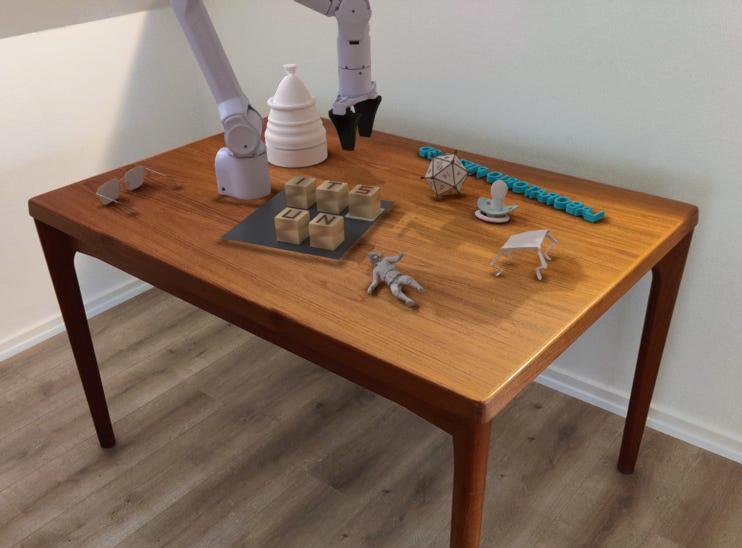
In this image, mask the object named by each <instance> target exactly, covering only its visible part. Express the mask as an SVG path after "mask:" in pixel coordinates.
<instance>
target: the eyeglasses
mask: <svg viewBox="0 0 742 548" xmlns="http://www.w3.org/2000/svg"><path fill="white" fill-rule="evenodd" d="M145 170H148V171H150V172H153V173H156V174H159V175H161V176H164V177H166V178H168V179H170V180H171V181H172V183H174V185H175V187H176V189H178V188H179V187H178V185H177V184H176V182H175V180H174V179H173V178H172V177H170V176H168V175H165V174H163V173H160V172H157V171H155V170H153V169H150V168H148V167H145V166H144V165H138V166H135V167H134V168H131V169H129V170H128V171H126V173H125V174H124V177H122V178H121V179H118V178H113V179H110V180H108V181H106V182H104V183H103V184H102V185H100V186H99V187H98V188H97V191H96V192H95V194H96V195H97V196H98V197H99V200H100V203H101V204H102V205H109V204H110V203H112V202H115V203H117V204H120V205H123V206H125V207H126V208H127V209H128V210H129V212H130V213H131V214H132V215H134V213H133V211H132V210H131V209H130V208H129V206H127V205H126V204H124V203H122V202H118V201H117V200H116V199H117V198H118V197H119V195H120V192H122V187H123V186H122V184H121V183H120V182H121V181H122V180H124V183H125V186H126V188H127V189H128V190H129V191H132V190H135V189H137V188H139V187H141V185H143V183H144V180H145Z"/></svg>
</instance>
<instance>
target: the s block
mask: <svg viewBox="0 0 742 548" xmlns="http://www.w3.org/2000/svg"><path fill="white" fill-rule="evenodd" d="M348 195H349V215H350V216H356V217H362V218H368V219H372V218H373V217H374V216H375V215H376V214H377V213H378V212H379V211H380V200H381V187H380V186H374V185H368V184H367V185H366V184H359V183H358V184H357V185H356V186H354V187H353V188H352V189H351V190H350V191H348Z"/></svg>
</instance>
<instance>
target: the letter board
mask: <svg viewBox="0 0 742 548" xmlns="http://www.w3.org/2000/svg"><path fill="white" fill-rule="evenodd" d="M348 193H349V184H348V182H341V181H335V180H328V179H326V180H324V181H323V182H322V183H321V184H320V185H317V178H315V177H308V176H301V175H295V176H293V177H292V178H290V179H289V180H288V181H287V182H285V183H284V188H283V189H281V190H280V191H279V192H278V193H276V194H275V195H274V196H272V197H271V198H269V200H268V201H266V202H265V203H263V204H262V205H261V206H259V207H258V208H257V209H256V210H254V211H252V213H250V214H248V216H246V217H245V218H244V219H242V220H241V221H240V222H239V223H237V224H236V225H235V226H233V227H232V228H230V229H229V230H228V231H227V232H225V233H224V234H222V236H220V237H219V238H220V239H222V240H228V241H232V242H233V241H234V242H239V243H245V244H250V245H255V246H261V247H266V248H270V249H277V250H283V251H288V252H293V253H297V254H298V253H299V254H304V255H310V256H316V257H320V258H325V259H331V260H336V261H339V260H340V259H341V258H342V257H343V256H344V255H345V254H346V253H347V252H348V251H349V250H350V249H351V248H352V247H353V246H354V245H355V244H356V243H357V242H358V241H359V240H360V239H361V237H362V236H363V235H364V234H365V233H367V231H368V230H369V229H370V228H371V227H372V226H373V225H374V224H375V223H376V222H377V221H378V220H379V219H380V218H381V217H382V216H383V215H384V213H386V211H388V209H390V208H391V206H392V205H393V204H394V203H395V201H392V200H385V199H380V211H379V212H378V213H377V214H376V215H375V216H374V217H373V218H372V219H368V218H362V217H356V216H350V215H349V194H348Z"/></svg>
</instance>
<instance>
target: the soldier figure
mask: <svg viewBox="0 0 742 548" xmlns="http://www.w3.org/2000/svg"><path fill="white" fill-rule="evenodd" d="M366 255H367V256H366V257H367V258H368V262H369V263H370V264H371V265H372V267H374V268H373V270H372V278H373V279H372V282H371V284H370V285H369V287H368V289H367V294H372V291H373V290H374V289H375V288H376V287H378V285H379V283H380V279H381V281H382V282H383V283H385V284H386V285H387V286H388V287H389V288H390V291H391V293H392V295H393V296H394V298H396V299H397V300H402V301H404V302H405V305H406V306H407V307H414V306H415V305H416V304H417V303H416V301H414V300H413V299H411V298H410V297H408V296H407V295H406V294H405V293H403V291H402V287H403V286H406V285H407V286H410V287H413V288H415V289H416V290H417V293H419V295H420V294H422V295H426V294H427V290H426V289H425V288H424V287H423V286H422V285H420V284H419V283H418V281H416V280H415V279H414V278H413V276H410V275H406V274H403V273H402V272H400V271H399V270H398V266H396V264H395V263H399V262H401V260H402V258H403V257H404V255H405V253H404V252H403V251H400V252H398V254H397V255H395V256H390V255H389V256H387V255H385V256H384V257H383V258H382V256H383V255H384V254H383V252H379V251H370V252H367V254H366Z"/></svg>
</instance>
